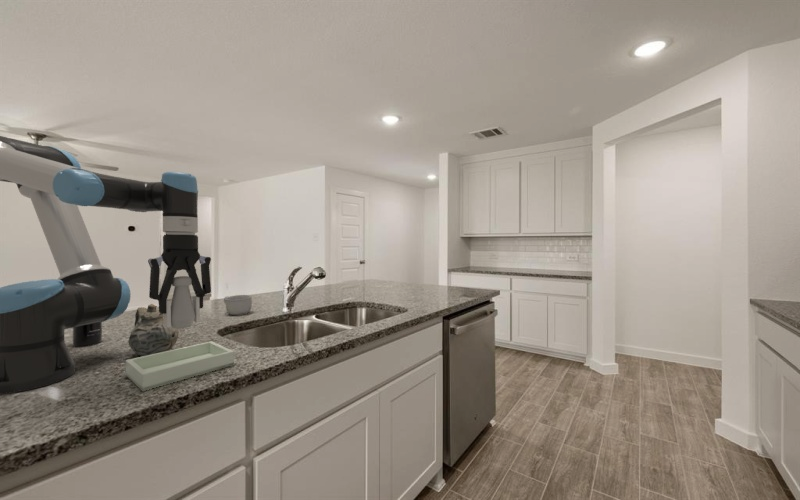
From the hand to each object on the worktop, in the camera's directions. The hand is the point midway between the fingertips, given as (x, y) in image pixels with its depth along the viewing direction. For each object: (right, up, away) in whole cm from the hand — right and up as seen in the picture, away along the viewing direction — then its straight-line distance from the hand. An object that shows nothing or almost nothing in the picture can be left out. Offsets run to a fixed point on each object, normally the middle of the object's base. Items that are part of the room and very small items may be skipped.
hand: (182, 323), depth 85 cm
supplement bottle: (-44, -11, +21) cm, 50 cm away
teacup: (-18, -10, +65) cm, 69 cm away
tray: (0, -12, 0) cm, 12 cm away
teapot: (-16, -12, +12) cm, 23 cm away
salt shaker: (0, -1, 0) cm, 1 cm away
